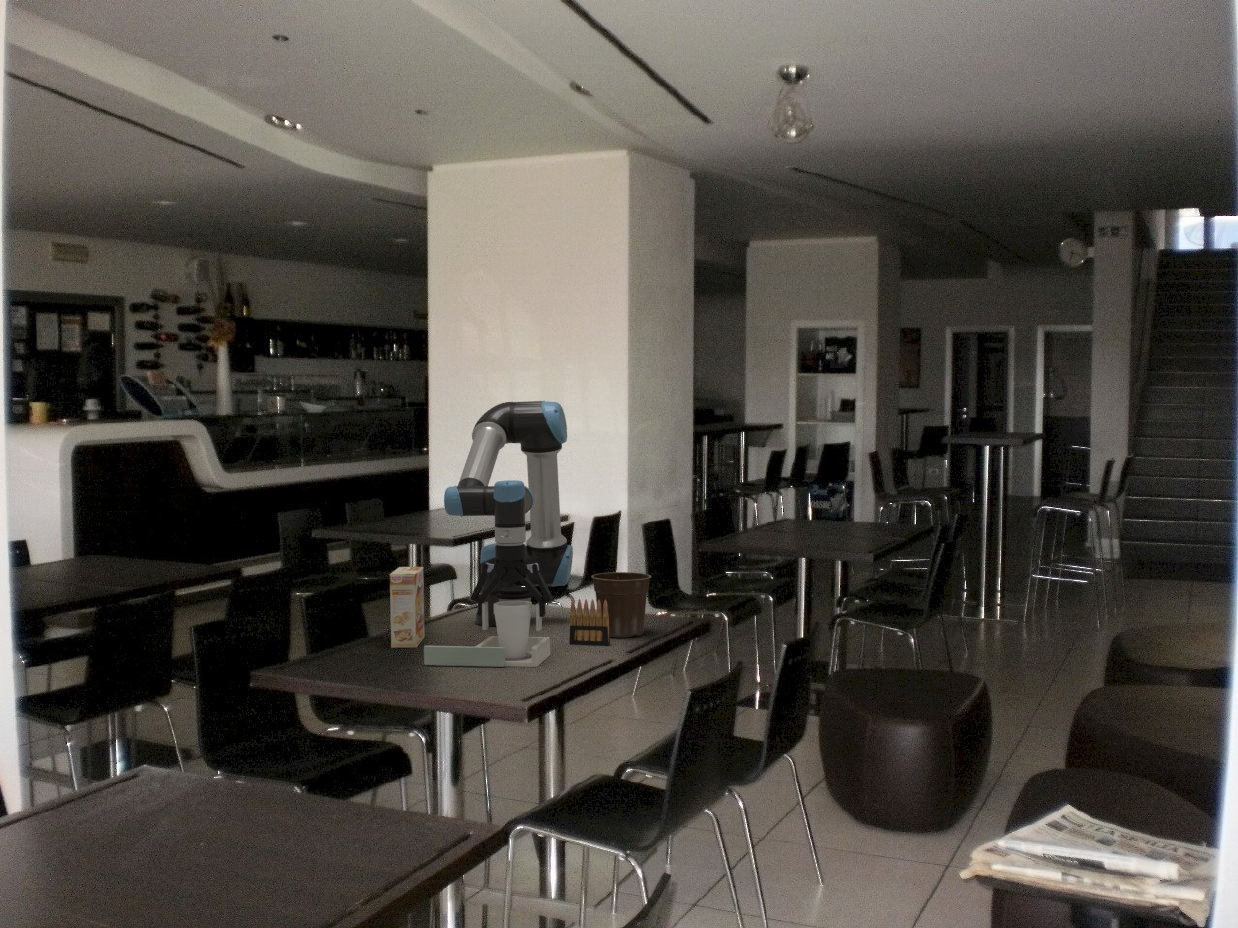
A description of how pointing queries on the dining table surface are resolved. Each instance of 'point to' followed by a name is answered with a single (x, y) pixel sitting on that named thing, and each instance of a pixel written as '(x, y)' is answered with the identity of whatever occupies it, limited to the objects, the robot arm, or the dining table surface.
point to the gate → (464, 656)
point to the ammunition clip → (589, 625)
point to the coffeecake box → (407, 607)
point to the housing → (535, 651)
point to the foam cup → (513, 626)
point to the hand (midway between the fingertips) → (512, 629)
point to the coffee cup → (514, 594)
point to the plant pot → (623, 601)
